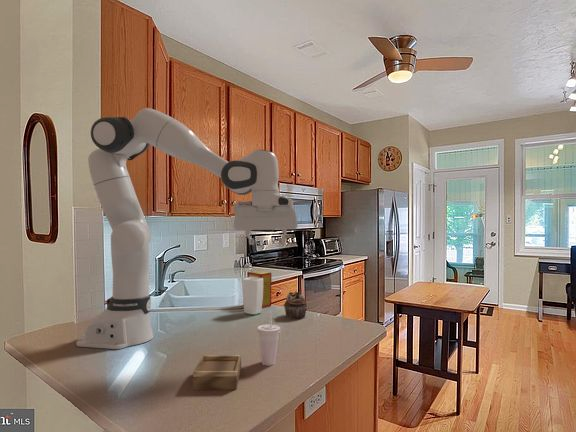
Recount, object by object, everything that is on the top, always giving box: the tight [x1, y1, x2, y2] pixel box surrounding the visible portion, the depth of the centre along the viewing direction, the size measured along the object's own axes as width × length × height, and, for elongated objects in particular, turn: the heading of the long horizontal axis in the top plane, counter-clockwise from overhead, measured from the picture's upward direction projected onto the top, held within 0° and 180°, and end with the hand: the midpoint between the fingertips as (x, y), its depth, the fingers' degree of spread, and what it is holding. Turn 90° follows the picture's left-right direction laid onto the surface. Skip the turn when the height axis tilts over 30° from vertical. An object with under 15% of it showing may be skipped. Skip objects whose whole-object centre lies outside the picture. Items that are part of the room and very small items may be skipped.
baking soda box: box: [247, 270, 272, 309], centre depth 160 cm, size 10×6×16 cm
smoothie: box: [256, 311, 281, 367], centre depth 94 cm, size 6×6×14 cm
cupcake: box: [283, 291, 308, 320], centre depth 141 cm, size 10×10×10 cm
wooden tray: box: [192, 354, 242, 391], centre depth 84 cm, size 10×10×4 cm
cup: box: [242, 277, 263, 316], centre depth 146 cm, size 7×7×15 cm
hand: (266, 244), depth 109 cm, fingers open, 8 cm apart
